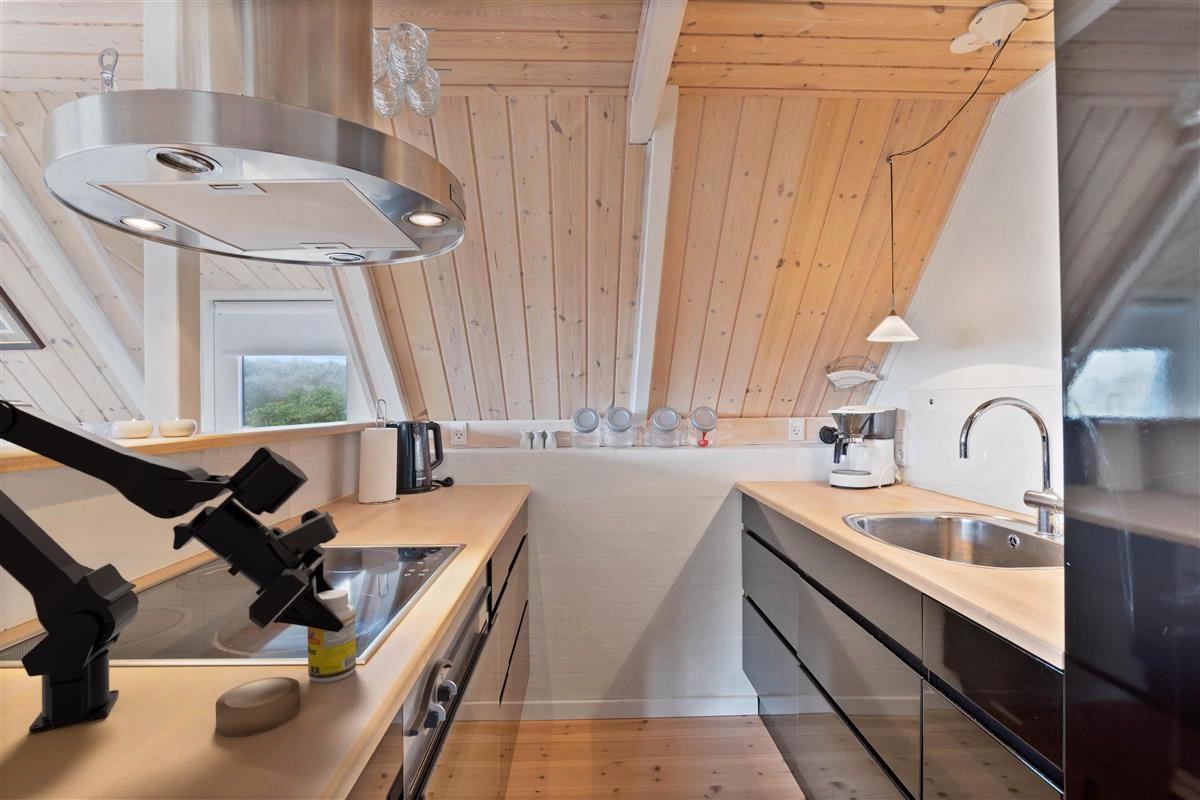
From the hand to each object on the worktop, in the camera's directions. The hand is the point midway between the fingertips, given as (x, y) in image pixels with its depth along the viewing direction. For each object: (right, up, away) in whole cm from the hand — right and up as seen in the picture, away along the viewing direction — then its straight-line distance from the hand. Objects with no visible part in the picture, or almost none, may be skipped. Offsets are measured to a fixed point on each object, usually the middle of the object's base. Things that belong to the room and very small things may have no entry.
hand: (343, 620), depth 75 cm
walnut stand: (-5, -7, -11) cm, 13 cm away
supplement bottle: (-1, -7, -1) cm, 7 cm away
